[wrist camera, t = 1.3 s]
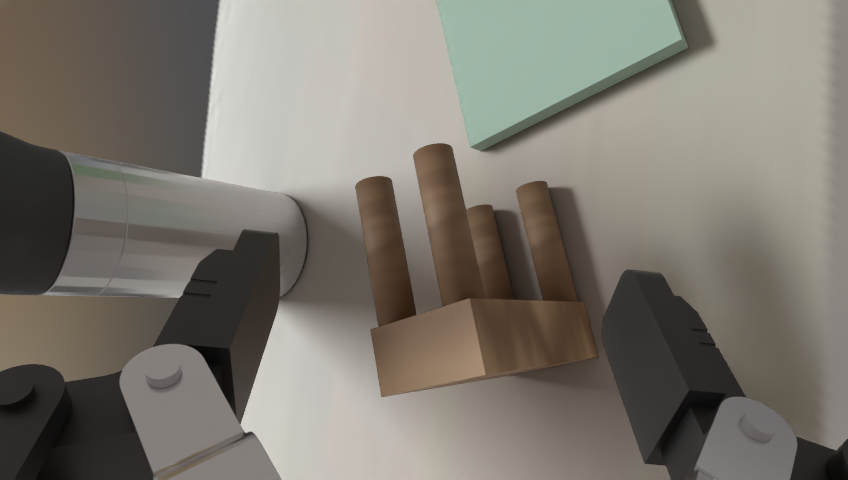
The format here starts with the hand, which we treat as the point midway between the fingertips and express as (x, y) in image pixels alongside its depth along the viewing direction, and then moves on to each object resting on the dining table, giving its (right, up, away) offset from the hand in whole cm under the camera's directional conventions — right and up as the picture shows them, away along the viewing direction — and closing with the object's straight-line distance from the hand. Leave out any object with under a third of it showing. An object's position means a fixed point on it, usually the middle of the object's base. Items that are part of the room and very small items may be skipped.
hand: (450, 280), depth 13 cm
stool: (+6, -1, +20) cm, 21 cm away
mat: (+7, +15, +21) cm, 27 cm away
